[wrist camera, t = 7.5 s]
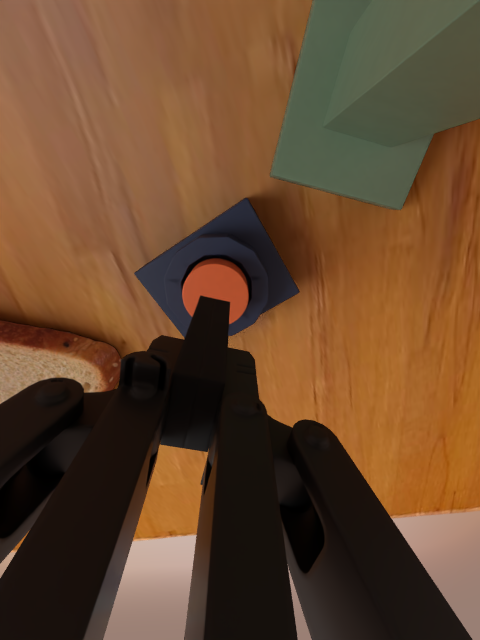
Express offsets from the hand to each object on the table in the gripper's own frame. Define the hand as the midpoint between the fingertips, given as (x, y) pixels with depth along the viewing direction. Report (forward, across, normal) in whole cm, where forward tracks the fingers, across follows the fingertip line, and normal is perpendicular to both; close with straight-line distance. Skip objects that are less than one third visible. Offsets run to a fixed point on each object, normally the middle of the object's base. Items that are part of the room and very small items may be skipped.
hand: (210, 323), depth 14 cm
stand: (+11, +7, +14) cm, 19 cm away
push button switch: (+11, 0, 0) cm, 11 cm away
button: (+7, 0, 0) cm, 7 cm away
